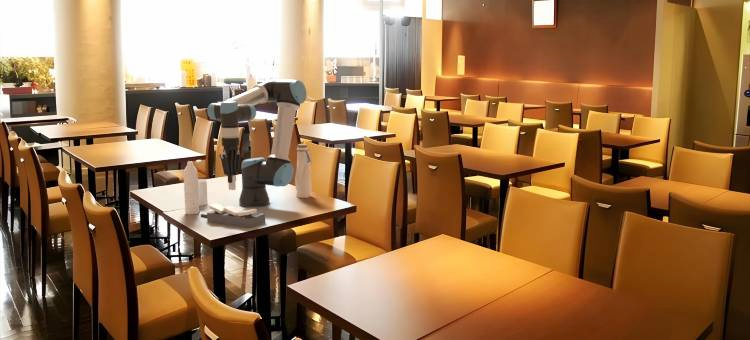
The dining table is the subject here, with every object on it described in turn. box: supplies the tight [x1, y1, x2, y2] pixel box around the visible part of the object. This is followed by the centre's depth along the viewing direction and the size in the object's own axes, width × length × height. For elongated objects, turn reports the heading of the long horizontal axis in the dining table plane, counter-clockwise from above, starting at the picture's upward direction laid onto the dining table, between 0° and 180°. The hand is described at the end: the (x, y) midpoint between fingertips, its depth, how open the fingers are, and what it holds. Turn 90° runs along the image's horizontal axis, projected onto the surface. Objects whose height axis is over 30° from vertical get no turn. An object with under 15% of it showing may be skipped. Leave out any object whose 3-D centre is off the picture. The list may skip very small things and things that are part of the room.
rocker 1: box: [208, 202, 226, 214], centre depth 277 cm, size 5×7×1 cm
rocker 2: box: [223, 204, 244, 216], centre depth 274 cm, size 5×7×1 cm
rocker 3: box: [237, 208, 258, 216], centre depth 271 cm, size 5×7×1 cm
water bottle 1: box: [182, 159, 202, 215], centre depth 290 cm, size 9×6×25 cm
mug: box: [198, 178, 209, 207], centre depth 306 cm, size 8×12×12 cm
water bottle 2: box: [294, 143, 313, 199], centre depth 325 cm, size 10×9×28 cm
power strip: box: [200, 210, 266, 229], centre depth 278 cm, size 11×33×5 cm, turn 64°
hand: (232, 189), depth 272 cm, fingers closed
